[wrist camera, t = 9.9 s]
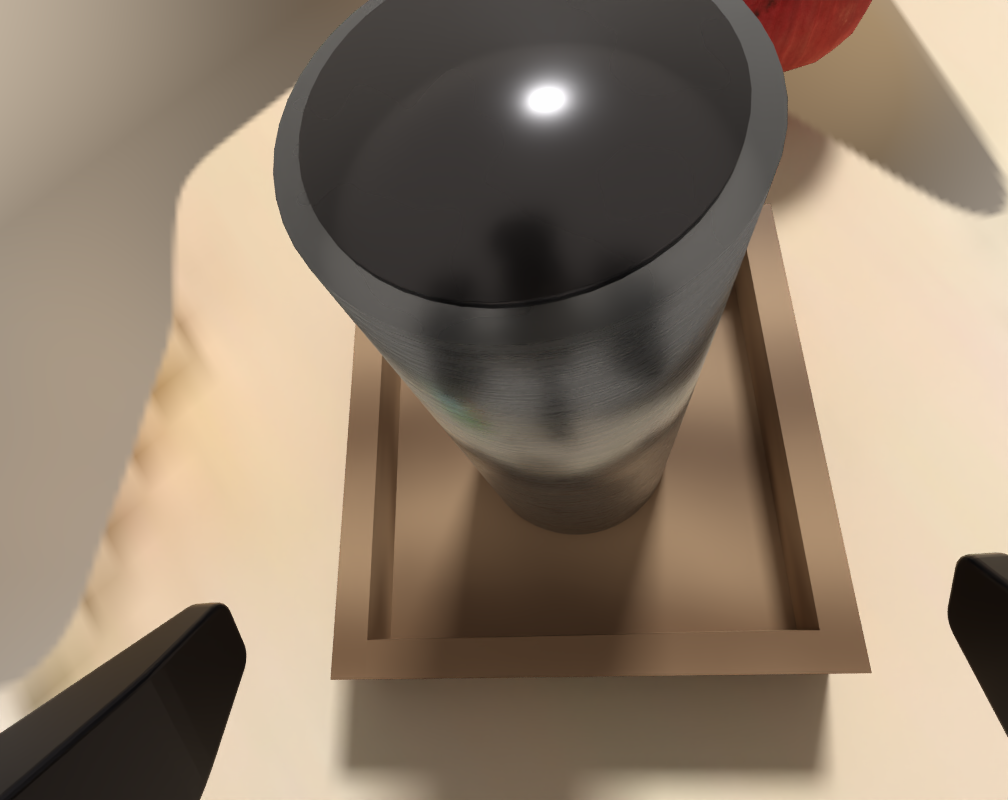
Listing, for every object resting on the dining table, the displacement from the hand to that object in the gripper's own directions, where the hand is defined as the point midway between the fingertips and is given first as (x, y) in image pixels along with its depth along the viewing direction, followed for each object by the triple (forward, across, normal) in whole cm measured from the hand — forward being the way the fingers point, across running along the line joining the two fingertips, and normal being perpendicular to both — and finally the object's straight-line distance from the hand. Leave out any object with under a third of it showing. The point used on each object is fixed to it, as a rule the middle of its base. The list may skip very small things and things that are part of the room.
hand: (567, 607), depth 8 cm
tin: (+12, 0, +4) cm, 13 cm away
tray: (+13, 0, +5) cm, 14 cm away
